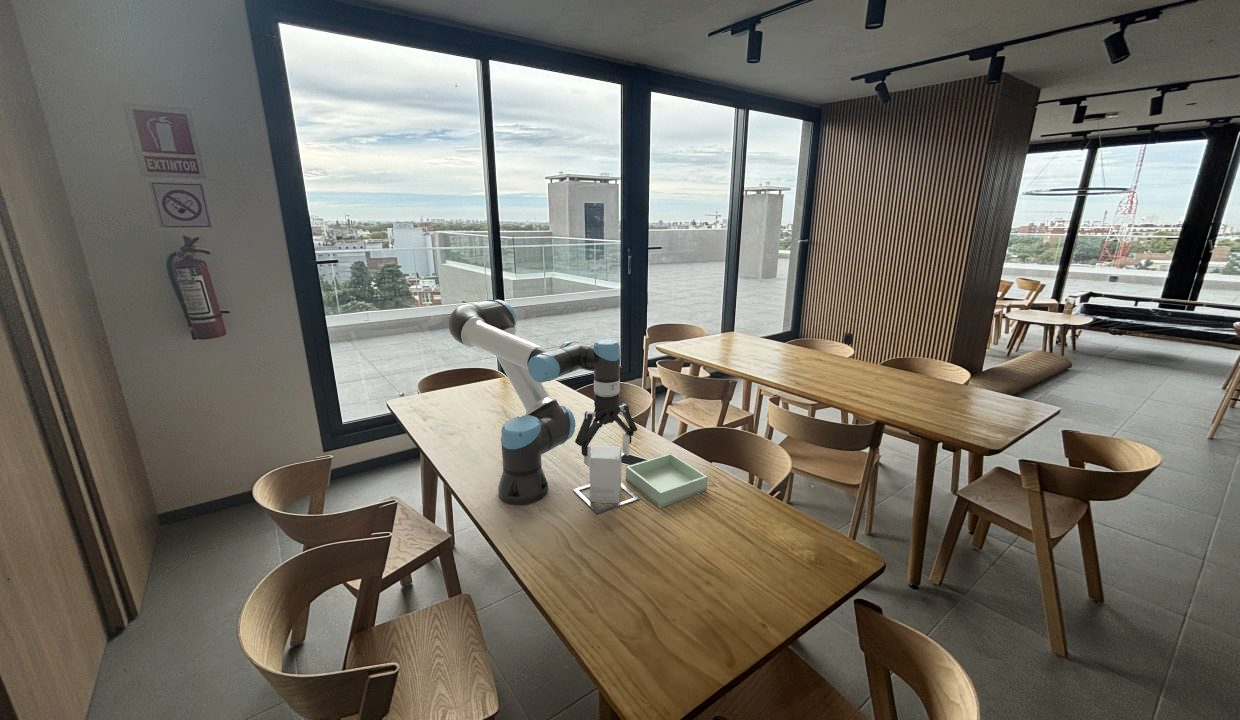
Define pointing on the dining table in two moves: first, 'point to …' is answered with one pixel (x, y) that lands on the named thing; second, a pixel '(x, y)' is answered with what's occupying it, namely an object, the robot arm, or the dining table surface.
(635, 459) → the cell phone
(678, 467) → the bin
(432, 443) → the dining table surface
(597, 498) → the supplement box
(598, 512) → the white square frame
